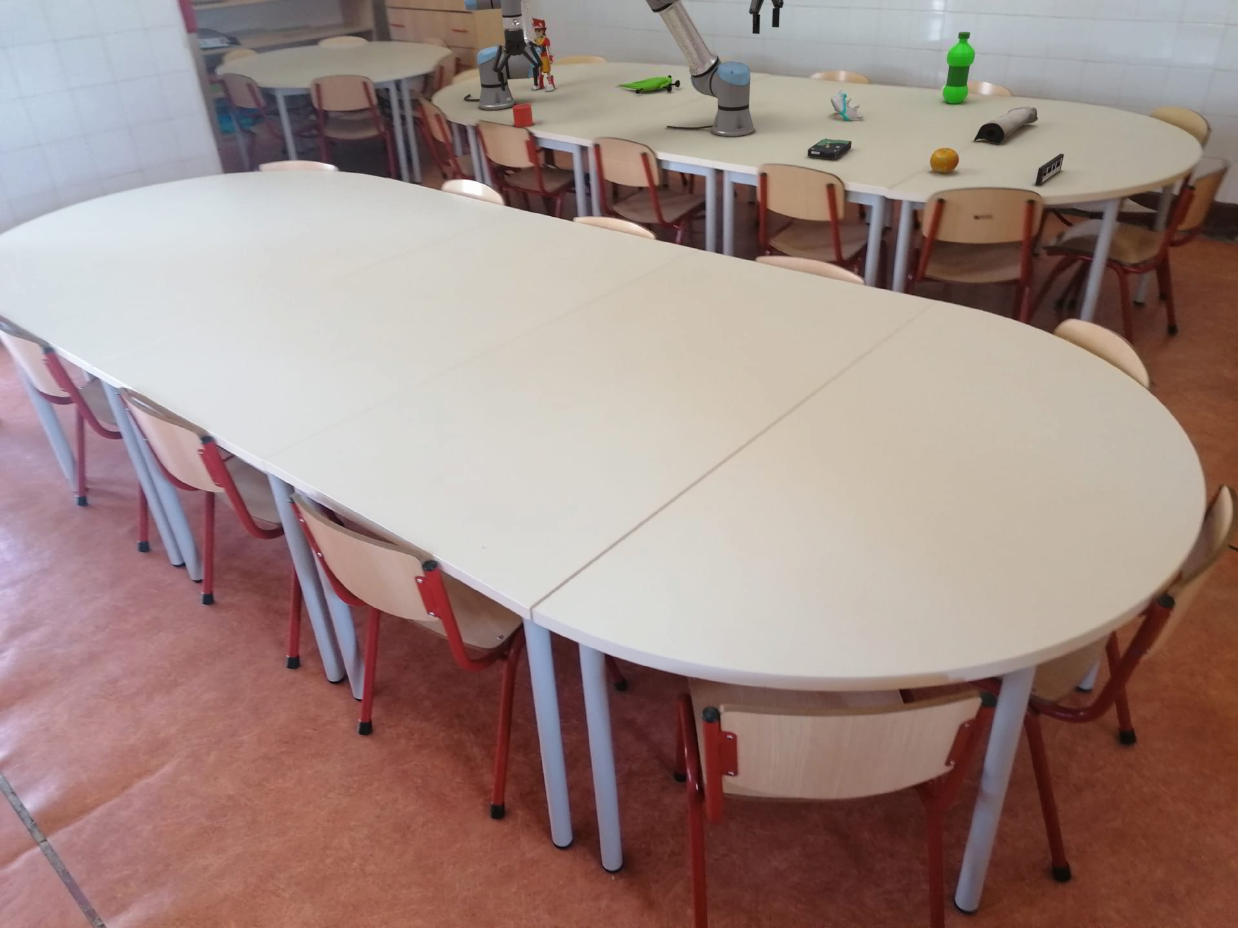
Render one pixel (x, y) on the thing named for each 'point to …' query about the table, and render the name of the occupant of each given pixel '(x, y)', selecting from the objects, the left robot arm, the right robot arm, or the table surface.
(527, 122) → the canister
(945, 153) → the fruit
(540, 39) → the toy
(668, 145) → the table surface
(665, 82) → the toy
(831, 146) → the disk drive
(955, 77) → the plastic bottle
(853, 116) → the anatomical model
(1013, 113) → the rolled mat
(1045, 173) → the midi keyboard
